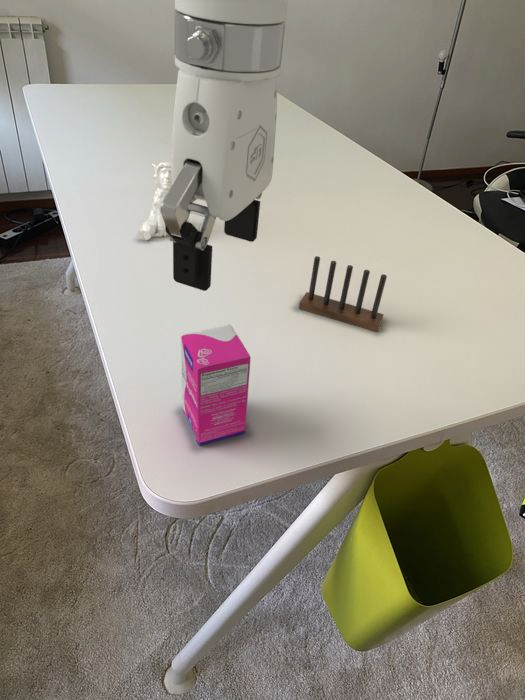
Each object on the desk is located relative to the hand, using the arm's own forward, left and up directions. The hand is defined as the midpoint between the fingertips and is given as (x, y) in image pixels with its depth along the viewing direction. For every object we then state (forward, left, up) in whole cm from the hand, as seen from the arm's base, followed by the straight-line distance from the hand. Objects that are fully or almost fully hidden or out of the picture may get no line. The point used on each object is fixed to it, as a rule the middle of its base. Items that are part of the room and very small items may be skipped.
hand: (217, 259), depth 49 cm
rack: (-7, -28, -21) cm, 36 cm away
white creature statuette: (+28, -38, -21) cm, 52 cm away
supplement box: (0, 0, -21) cm, 21 cm away
